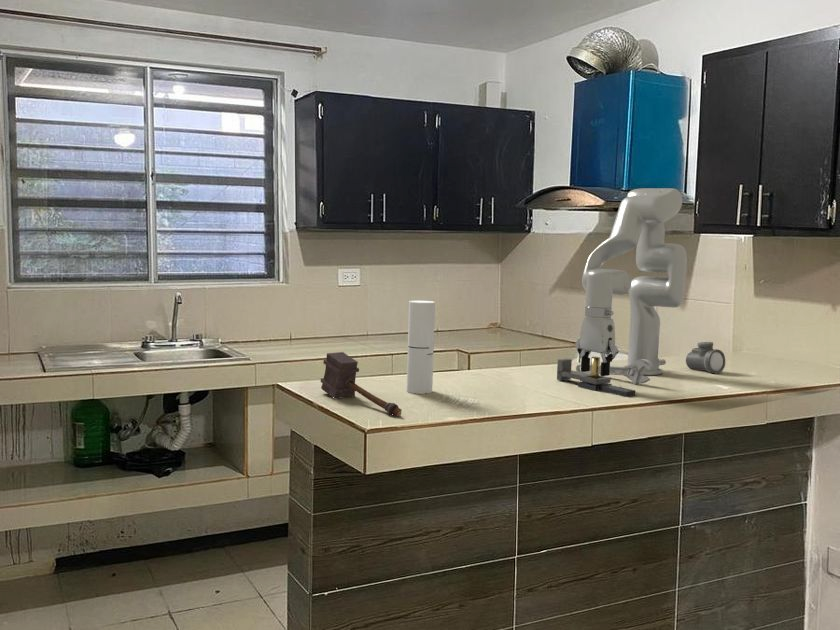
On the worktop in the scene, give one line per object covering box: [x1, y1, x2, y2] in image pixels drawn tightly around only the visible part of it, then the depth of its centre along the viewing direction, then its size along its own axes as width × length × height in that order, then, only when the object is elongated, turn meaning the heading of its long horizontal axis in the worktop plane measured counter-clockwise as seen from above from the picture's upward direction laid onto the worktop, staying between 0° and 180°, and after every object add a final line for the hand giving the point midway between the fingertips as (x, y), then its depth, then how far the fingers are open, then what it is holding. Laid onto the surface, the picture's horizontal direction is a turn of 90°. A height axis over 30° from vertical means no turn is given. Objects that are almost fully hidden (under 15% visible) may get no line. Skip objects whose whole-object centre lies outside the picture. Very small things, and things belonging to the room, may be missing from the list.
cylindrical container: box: [406, 299, 436, 395], centre depth 222 cm, size 7×7×25 cm
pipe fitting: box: [685, 341, 726, 375], centre depth 270 cm, size 12×8×10 cm
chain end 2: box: [577, 381, 636, 398], centre depth 231 cm, size 7×17×1 cm, turn 36°
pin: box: [590, 356, 601, 385], centre depth 235 cm, size 2×2×9 cm
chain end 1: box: [556, 358, 611, 384], centre depth 239 cm, size 6×17×6 cm, turn 36°
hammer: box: [320, 351, 402, 417], centre depth 204 cm, size 7×33×10 cm, turn 36°
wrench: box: [575, 359, 654, 386], centre depth 249 cm, size 8×2×30 cm
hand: (594, 373), depth 235 cm, fingers open, 7 cm apart
